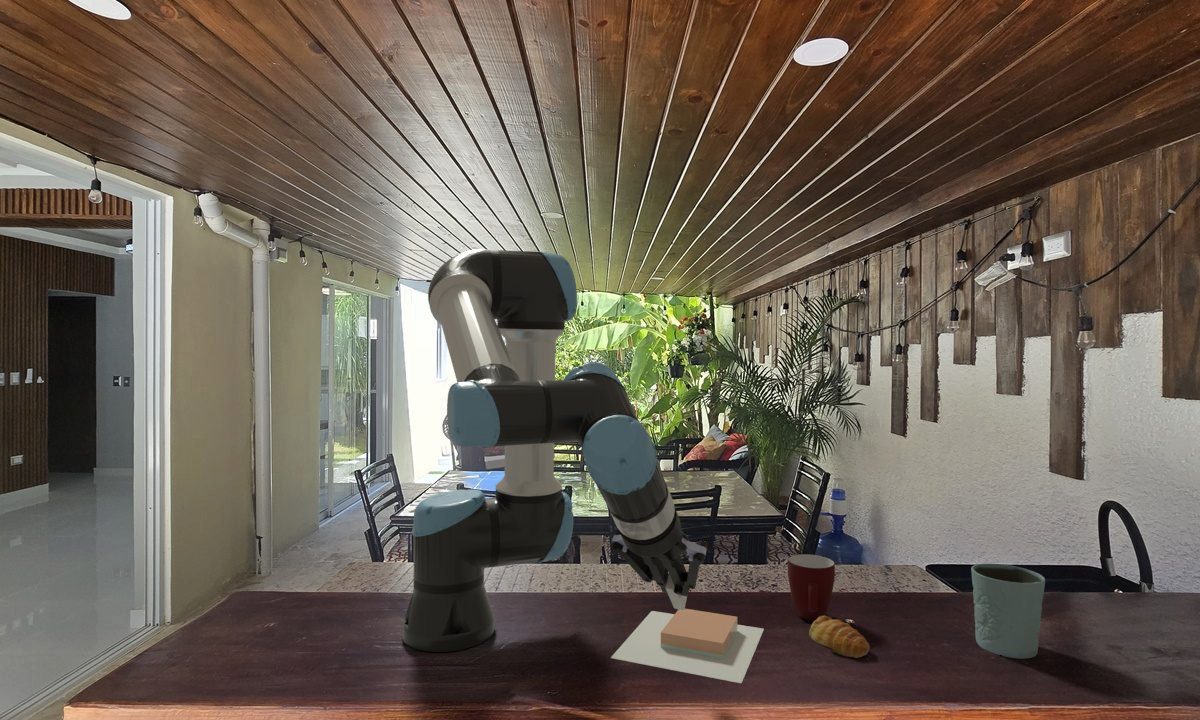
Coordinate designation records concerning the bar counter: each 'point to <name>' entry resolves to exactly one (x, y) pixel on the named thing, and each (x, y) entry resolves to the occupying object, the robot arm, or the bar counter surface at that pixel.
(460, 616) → the robot arm
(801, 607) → the mug
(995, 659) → the bar counter surface
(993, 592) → the green ceramic cup
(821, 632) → the pastry
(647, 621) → the mat
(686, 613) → the tile
